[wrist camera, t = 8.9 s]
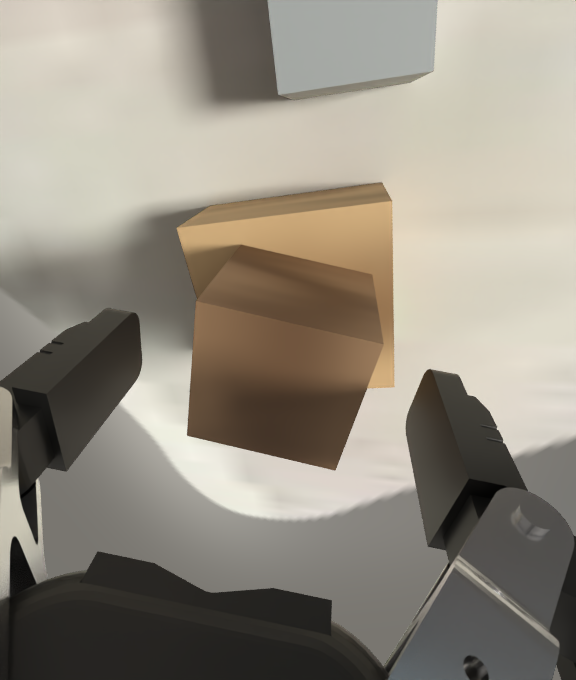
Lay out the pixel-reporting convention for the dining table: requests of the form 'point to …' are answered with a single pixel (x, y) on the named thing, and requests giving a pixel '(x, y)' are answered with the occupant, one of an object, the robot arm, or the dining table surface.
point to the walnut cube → (283, 356)
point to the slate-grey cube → (350, 44)
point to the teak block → (305, 242)
